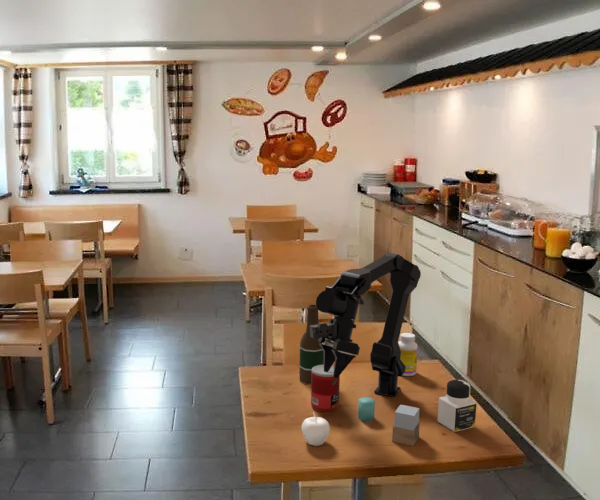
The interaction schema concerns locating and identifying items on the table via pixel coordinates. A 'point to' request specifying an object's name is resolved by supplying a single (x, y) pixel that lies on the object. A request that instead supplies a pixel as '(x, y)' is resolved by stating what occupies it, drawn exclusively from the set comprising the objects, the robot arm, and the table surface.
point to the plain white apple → (315, 430)
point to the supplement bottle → (408, 353)
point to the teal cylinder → (366, 409)
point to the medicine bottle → (457, 407)
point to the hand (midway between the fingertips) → (330, 374)
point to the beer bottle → (310, 348)
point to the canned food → (324, 389)
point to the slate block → (406, 417)
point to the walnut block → (405, 435)
